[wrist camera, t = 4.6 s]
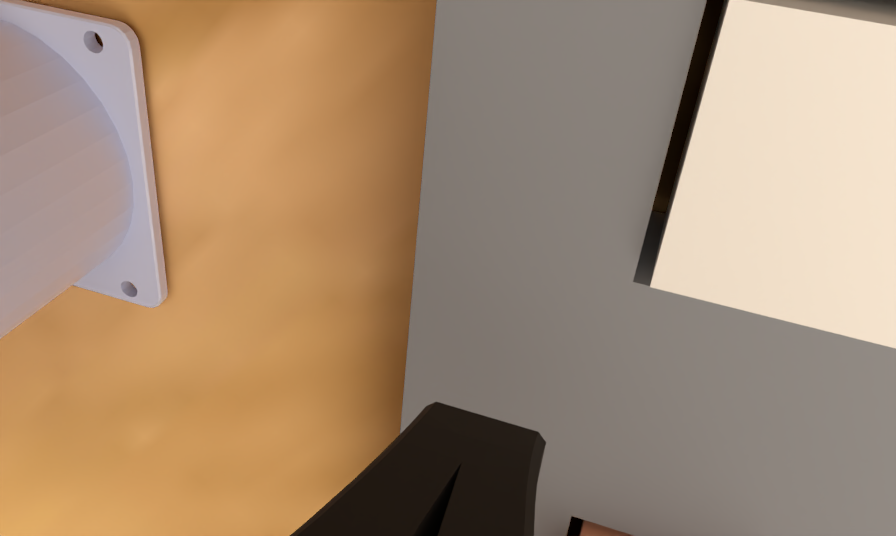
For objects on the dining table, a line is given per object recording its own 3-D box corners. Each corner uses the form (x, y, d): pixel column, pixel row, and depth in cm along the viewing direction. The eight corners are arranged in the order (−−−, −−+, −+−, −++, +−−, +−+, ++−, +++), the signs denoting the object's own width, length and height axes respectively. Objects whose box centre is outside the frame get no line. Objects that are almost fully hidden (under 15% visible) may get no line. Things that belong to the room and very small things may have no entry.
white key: (665, 211, 17) (649, 286, 14) (735, -43, 14) (729, -3, 12) (927, 271, 16) (957, 364, 13) (1056, 10, 13) (1125, 65, 11)
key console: (414, 588, 27) (379, 671, 24) (518, -313, 14) (464, -332, 11) (870, 748, 24) (882, 860, 21) (1566, -211, 11) (1808, -206, 8)
